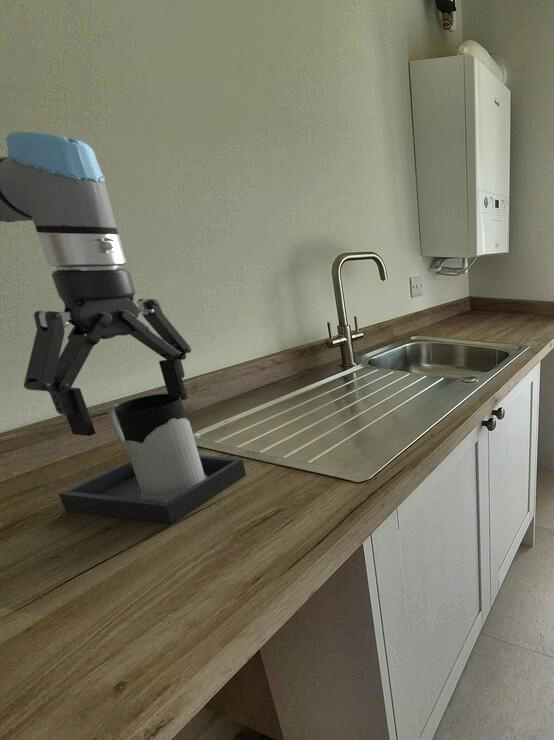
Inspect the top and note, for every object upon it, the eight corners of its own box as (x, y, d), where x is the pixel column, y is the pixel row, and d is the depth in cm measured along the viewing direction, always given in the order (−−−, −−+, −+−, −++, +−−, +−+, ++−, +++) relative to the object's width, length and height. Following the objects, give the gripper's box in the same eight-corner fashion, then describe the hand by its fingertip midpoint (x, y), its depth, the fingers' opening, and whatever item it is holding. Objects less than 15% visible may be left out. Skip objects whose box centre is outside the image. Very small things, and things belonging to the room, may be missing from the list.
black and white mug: (166, 510, 60) (136, 416, 55) (101, 495, 64) (67, 405, 59) (222, 479, 68) (200, 395, 63) (161, 467, 72) (136, 386, 67)
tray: (65, 511, 61) (58, 493, 60) (155, 465, 73) (150, 450, 72) (171, 524, 58) (165, 506, 57) (246, 474, 70) (242, 458, 69)
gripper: (-16, 274, 42) (56, 456, 49) (197, 264, 66) (226, 389, 72) (-71, 273, 44) (6, 451, 50) (158, 264, 67) (190, 386, 74)
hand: (136, 414), depth 61 cm, fingers open, 13 cm apart
